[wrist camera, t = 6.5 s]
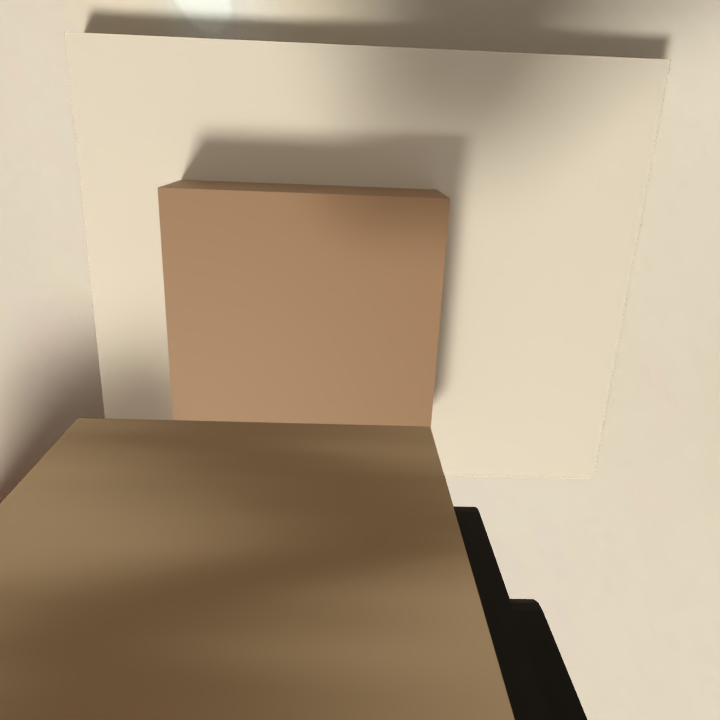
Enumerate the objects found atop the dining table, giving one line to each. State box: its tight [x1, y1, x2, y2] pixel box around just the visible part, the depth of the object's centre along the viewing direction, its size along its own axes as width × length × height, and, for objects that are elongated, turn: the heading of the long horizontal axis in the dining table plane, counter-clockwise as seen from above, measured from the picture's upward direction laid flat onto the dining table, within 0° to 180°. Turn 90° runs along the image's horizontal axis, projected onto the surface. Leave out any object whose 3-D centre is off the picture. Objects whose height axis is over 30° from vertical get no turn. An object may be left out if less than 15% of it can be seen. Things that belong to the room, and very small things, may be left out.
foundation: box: [64, 32, 671, 479], centre depth 23 cm, size 20×16×4 cm
